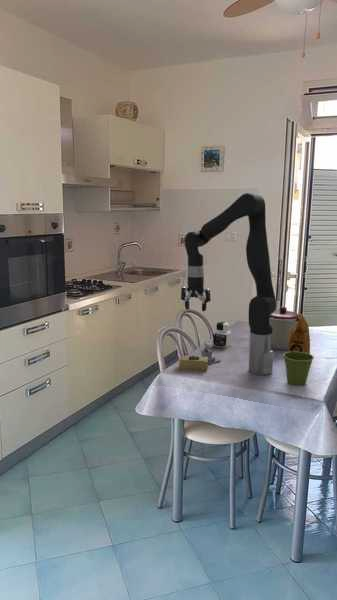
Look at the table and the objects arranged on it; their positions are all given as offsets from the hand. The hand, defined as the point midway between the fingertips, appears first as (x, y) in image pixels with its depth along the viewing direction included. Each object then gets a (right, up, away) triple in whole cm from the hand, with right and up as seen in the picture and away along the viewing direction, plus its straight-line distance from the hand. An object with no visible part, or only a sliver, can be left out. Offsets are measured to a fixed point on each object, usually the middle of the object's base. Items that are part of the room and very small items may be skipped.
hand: (195, 310), depth 214 cm
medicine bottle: (+15, -19, +21) cm, 32 cm away
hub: (+5, -23, -3) cm, 24 cm away
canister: (+44, -19, +19) cm, 52 cm away
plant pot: (+39, -29, -30) cm, 57 cm away
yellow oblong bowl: (-2, -25, -13) cm, 28 cm away
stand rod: (-2, -25, -13) cm, 28 cm away
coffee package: (+46, -24, -6) cm, 52 cm away
